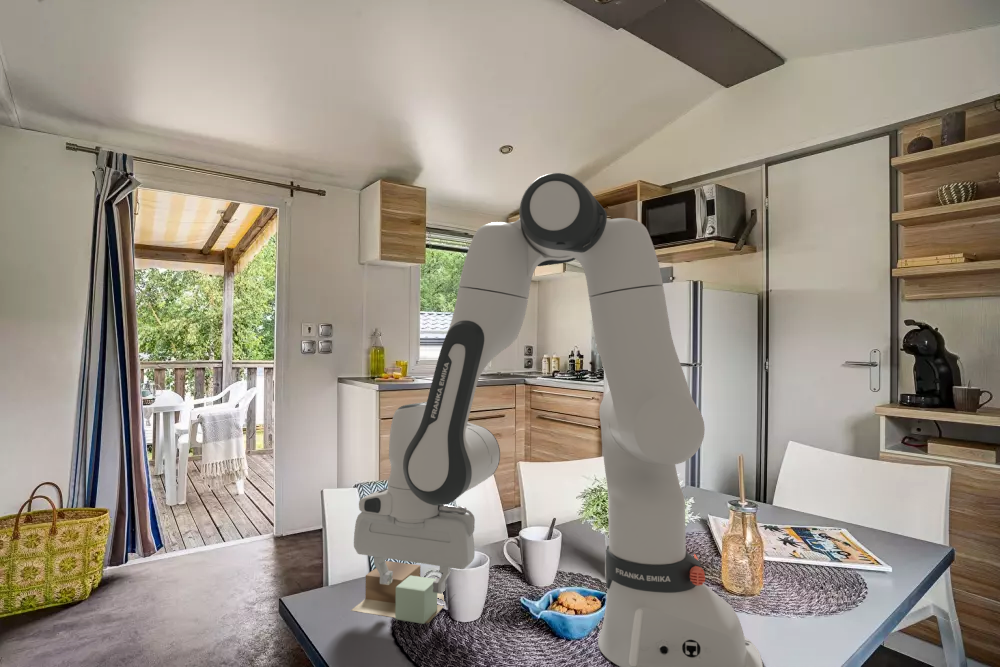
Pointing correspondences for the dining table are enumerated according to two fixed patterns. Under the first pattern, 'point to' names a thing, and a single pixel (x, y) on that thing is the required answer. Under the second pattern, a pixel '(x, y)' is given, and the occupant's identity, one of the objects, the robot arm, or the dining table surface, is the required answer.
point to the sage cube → (415, 599)
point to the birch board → (387, 608)
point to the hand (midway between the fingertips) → (412, 587)
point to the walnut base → (389, 591)
